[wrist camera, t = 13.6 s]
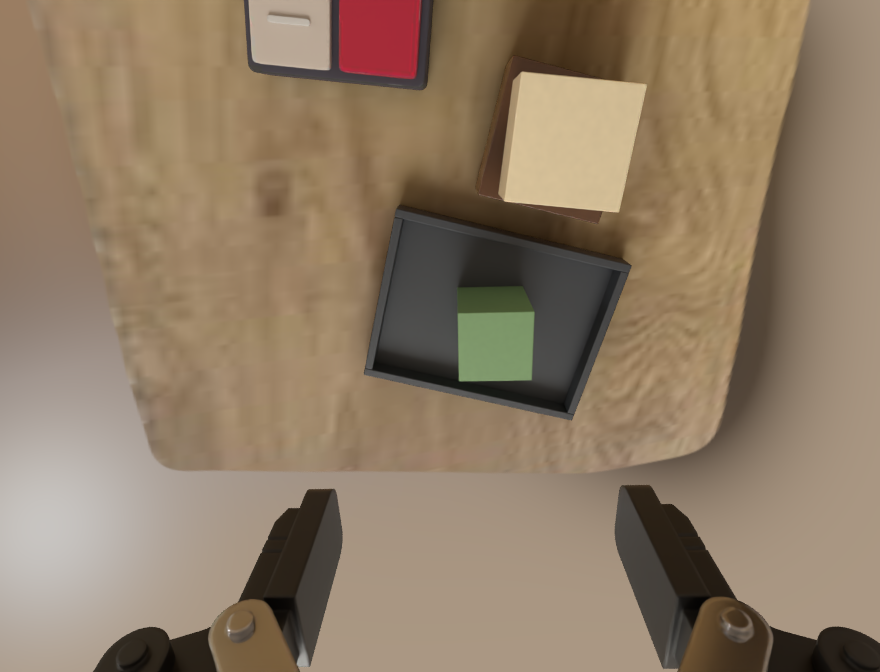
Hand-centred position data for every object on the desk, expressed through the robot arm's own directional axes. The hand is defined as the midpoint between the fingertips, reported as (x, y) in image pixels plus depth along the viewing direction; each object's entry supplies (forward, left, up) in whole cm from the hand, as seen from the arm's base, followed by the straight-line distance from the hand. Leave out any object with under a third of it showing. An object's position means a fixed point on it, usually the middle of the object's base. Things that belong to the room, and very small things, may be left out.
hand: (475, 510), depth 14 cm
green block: (+3, +3, -25) cm, 26 cm away
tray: (+3, +3, -26) cm, 26 cm away
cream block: (-10, +3, -21) cm, 24 cm away
